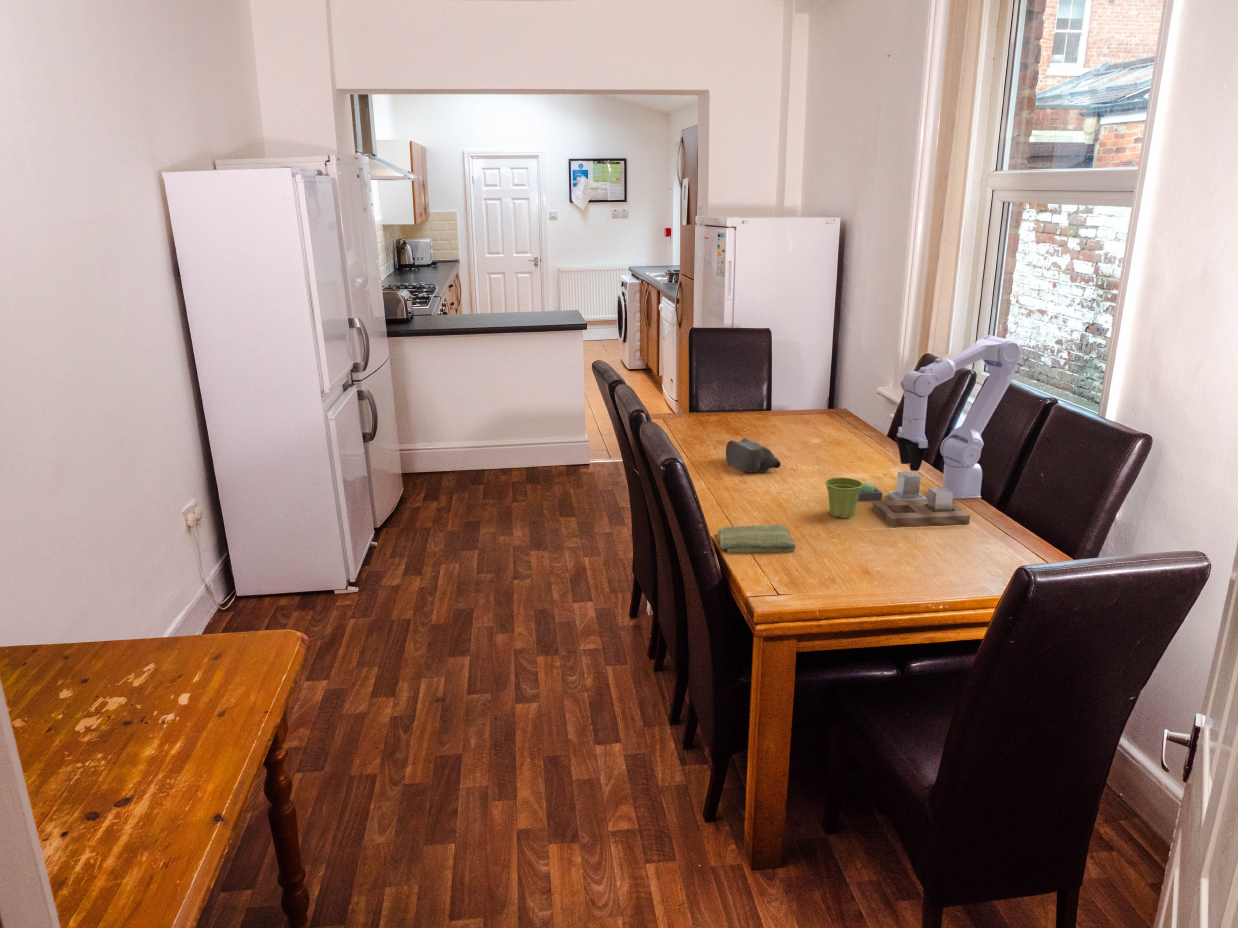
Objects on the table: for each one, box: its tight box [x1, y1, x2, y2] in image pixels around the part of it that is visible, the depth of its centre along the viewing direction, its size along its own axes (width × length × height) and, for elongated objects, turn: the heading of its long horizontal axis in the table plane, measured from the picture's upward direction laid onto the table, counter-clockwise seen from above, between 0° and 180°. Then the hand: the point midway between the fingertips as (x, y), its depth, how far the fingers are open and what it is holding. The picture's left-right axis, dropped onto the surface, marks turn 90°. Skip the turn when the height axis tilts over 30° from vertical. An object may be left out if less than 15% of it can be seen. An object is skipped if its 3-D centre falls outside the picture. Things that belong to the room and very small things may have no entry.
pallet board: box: [871, 498, 971, 529], centre depth 222 cm, size 20×13×2 cm, turn 95°
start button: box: [861, 482, 876, 492], centre depth 237 cm, size 4×4×3 cm
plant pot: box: [824, 477, 863, 519], centre depth 224 cm, size 9×9×9 cm
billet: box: [895, 471, 922, 499], centre depth 234 cm, size 4×4×7 cm
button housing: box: [858, 486, 883, 502], centre depth 237 cm, size 6×6×2 cm
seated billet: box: [927, 487, 954, 512], centre depth 222 cm, size 4×4×7 cm
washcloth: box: [717, 523, 797, 554], centre depth 206 cm, size 13×18×3 cm
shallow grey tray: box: [887, 490, 928, 501], centre depth 235 cm, size 8×7×2 cm
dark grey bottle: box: [725, 437, 781, 473], centre depth 265 cm, size 18×11×8 cm, turn 24°
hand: (909, 466), depth 232 cm, fingers open, 6 cm apart
